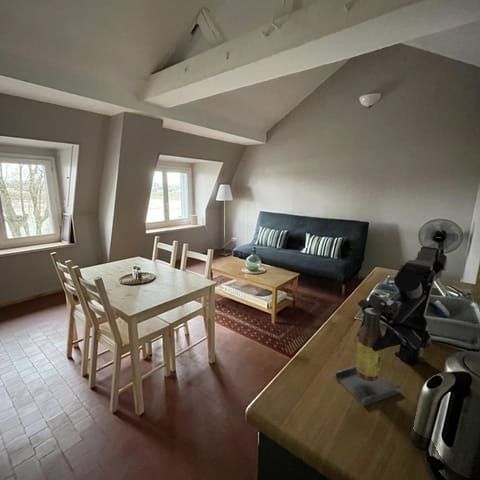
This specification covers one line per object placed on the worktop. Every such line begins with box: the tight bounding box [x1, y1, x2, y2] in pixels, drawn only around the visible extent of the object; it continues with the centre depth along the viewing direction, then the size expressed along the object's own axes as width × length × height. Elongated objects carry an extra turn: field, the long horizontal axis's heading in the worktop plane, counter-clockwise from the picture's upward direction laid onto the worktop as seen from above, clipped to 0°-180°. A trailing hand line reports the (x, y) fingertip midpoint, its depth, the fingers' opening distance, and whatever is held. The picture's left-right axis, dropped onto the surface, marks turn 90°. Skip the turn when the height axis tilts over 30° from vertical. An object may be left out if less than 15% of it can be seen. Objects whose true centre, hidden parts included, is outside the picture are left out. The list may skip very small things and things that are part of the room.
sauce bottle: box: [355, 308, 383, 381], centre depth 74 cm, size 6×6×20 cm
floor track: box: [333, 364, 402, 407], centre depth 76 cm, size 13×12×2 cm
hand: (365, 343), depth 74 cm, fingers closed on sauce bottle, 6 cm apart
